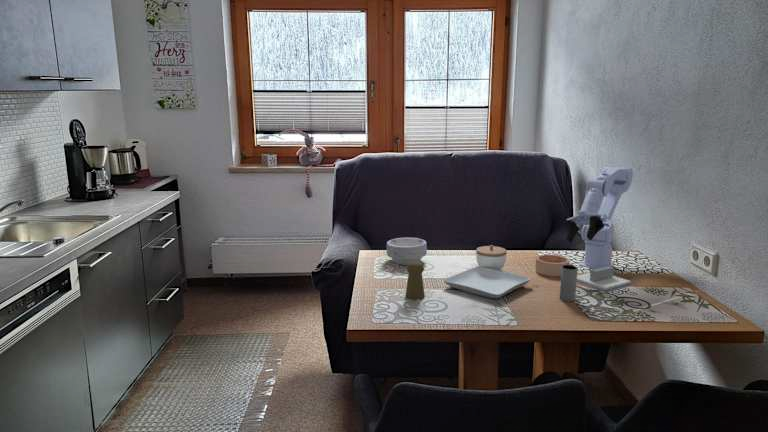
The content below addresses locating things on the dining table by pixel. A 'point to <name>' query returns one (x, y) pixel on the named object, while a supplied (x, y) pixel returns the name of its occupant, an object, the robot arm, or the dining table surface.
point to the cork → (415, 281)
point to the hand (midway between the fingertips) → (578, 239)
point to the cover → (602, 278)
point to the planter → (568, 283)
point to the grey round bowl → (406, 250)
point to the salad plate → (486, 282)
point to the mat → (608, 289)
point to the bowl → (550, 264)
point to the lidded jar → (491, 257)
